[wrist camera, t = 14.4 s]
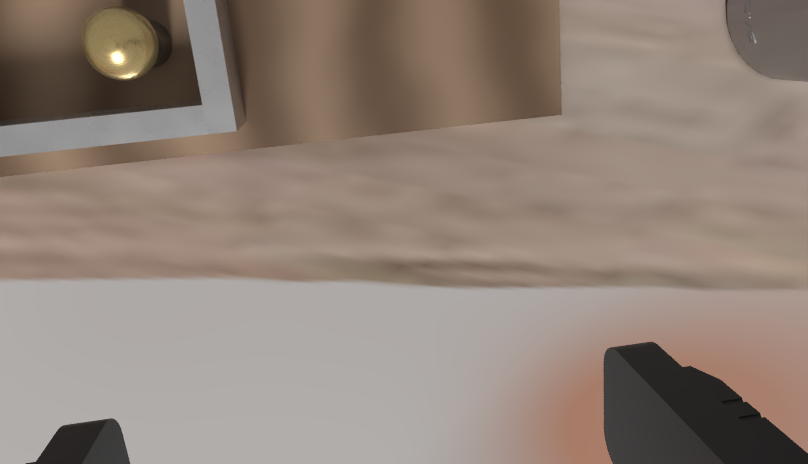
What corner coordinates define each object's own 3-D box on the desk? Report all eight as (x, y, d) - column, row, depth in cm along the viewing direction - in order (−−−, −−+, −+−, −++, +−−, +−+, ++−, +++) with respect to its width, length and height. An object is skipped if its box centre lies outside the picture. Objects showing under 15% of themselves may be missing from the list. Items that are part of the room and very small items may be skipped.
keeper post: (173, 8, 33) (139, 0, 27) (185, 72, 34) (155, 78, 28) (109, 14, 33) (61, 7, 27) (123, 78, 34) (79, 86, 28)
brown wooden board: (548, -112, 35) (556, -117, 34) (554, 112, 38) (561, 114, 37) (-77, -63, 32) (-92, -67, 31) (-10, 174, 36) (-21, 179, 34)
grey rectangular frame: (216, -58, 33) (202, -71, 29) (246, 121, 35) (236, 131, 31) (-76, -33, 31) (-131, -44, 28) (-23, 150, 34) (-67, 164, 30)
